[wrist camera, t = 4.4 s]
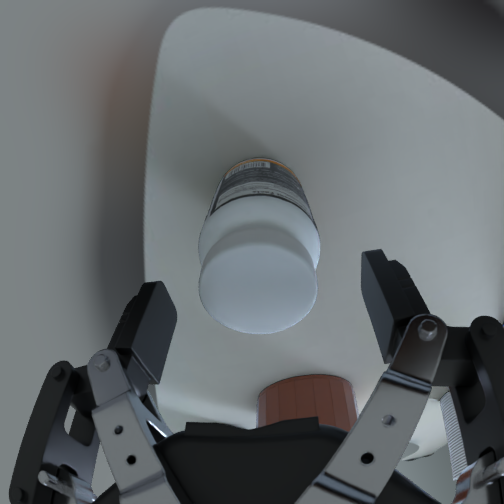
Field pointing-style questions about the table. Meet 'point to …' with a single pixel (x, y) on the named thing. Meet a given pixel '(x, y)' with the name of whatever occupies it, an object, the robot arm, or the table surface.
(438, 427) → the table surface
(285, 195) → the pill bottle
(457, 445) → the cup
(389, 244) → the table surface
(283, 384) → the crock
